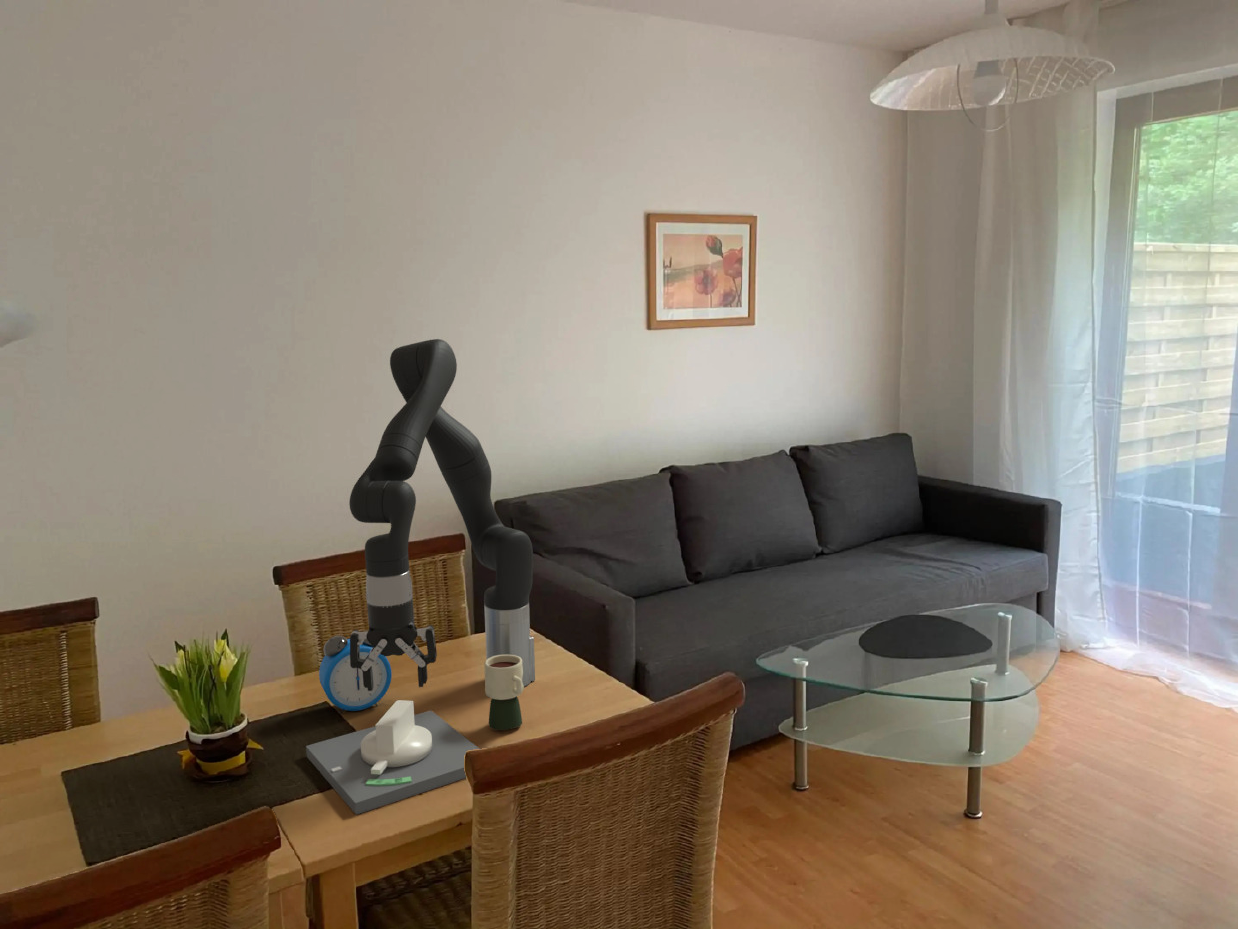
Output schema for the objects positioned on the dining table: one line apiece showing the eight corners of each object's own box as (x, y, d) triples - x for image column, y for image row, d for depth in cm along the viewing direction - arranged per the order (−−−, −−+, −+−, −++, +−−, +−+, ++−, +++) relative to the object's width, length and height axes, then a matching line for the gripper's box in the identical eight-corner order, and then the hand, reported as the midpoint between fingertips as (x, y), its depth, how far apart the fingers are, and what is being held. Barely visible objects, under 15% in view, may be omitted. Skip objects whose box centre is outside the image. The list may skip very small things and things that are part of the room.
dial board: (431, 720, 181) (431, 709, 180) (491, 769, 162) (491, 756, 161) (306, 756, 167) (305, 744, 166) (356, 815, 148) (355, 801, 147)
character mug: (537, 730, 176) (536, 664, 174) (505, 742, 171) (503, 674, 169) (505, 711, 184) (503, 648, 182) (474, 722, 180) (471, 657, 177)
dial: (377, 733, 170) (375, 696, 169) (441, 736, 169) (439, 699, 168) (341, 775, 155) (338, 736, 154) (411, 779, 154) (409, 739, 152)
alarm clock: (326, 718, 182) (321, 645, 179) (320, 707, 187) (315, 635, 185) (394, 705, 188) (390, 633, 185) (386, 693, 193) (382, 624, 190)
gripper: (434, 587, 163) (439, 676, 166) (350, 592, 162) (356, 681, 165) (430, 601, 156) (436, 693, 159) (342, 606, 154) (350, 699, 157)
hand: (396, 687), depth 162 cm, fingers open, 8 cm apart
